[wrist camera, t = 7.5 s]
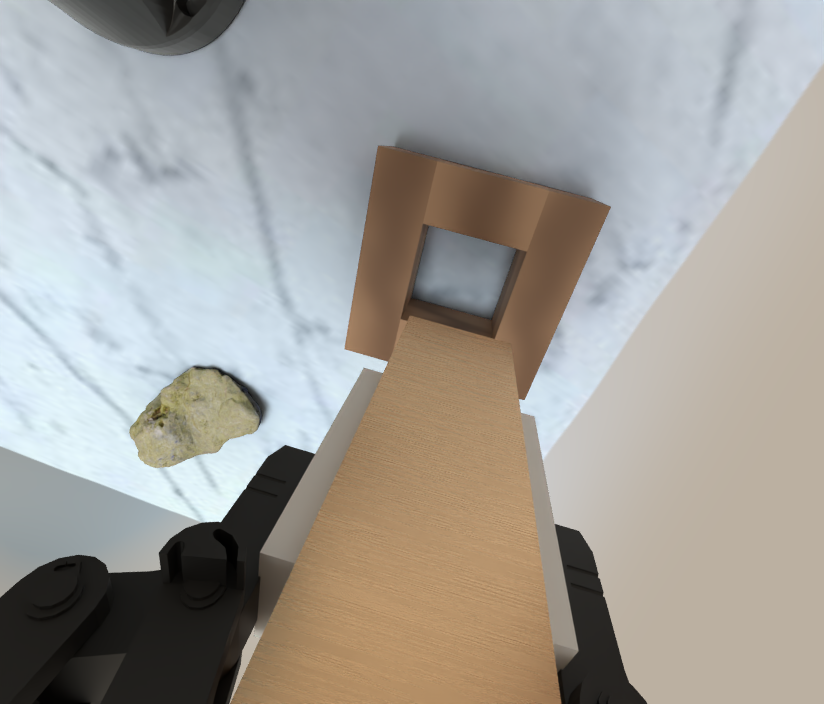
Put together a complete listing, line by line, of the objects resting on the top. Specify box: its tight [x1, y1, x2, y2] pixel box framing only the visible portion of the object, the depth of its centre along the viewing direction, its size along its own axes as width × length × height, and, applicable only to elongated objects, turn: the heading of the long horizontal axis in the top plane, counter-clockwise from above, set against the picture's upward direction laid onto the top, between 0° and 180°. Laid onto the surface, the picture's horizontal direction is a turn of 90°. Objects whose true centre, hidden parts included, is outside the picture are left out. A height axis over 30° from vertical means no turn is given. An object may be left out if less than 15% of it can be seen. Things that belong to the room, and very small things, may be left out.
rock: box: [129, 367, 262, 468], centre depth 38 cm, size 11×6×10 cm
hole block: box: [345, 146, 611, 400], centre depth 27 cm, size 14×14×4 cm
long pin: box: [230, 315, 561, 704], centre depth 10 cm, size 4×4×14 cm
